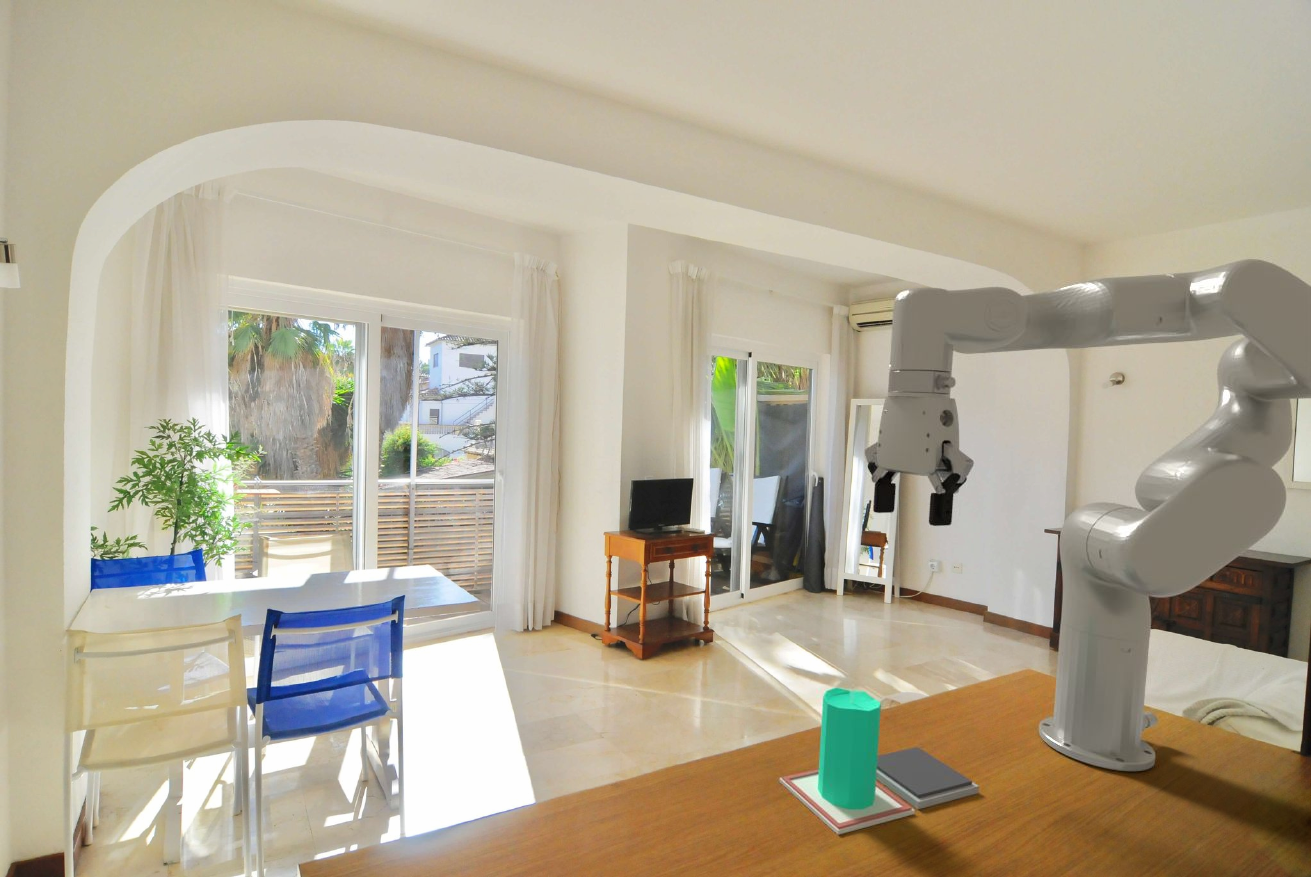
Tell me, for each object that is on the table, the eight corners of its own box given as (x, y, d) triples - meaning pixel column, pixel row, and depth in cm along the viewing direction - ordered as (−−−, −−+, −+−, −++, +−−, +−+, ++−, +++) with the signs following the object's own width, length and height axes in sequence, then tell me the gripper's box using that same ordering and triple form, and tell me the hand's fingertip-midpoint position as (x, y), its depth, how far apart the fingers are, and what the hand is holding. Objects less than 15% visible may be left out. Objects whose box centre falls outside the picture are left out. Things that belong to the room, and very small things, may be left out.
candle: (878, 814, 70) (885, 700, 69) (818, 804, 71) (825, 692, 70) (871, 783, 76) (878, 677, 75) (816, 774, 77) (823, 670, 76)
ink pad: (916, 753, 84) (917, 744, 84) (978, 793, 75) (979, 782, 75) (859, 766, 80) (860, 756, 80) (917, 809, 72) (918, 798, 72)
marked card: (849, 765, 80) (850, 761, 80) (914, 813, 71) (914, 808, 71) (779, 781, 76) (779, 776, 76) (837, 834, 67) (838, 828, 67)
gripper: (997, 388, 81) (987, 529, 82) (892, 388, 97) (884, 507, 98) (952, 384, 78) (942, 531, 79) (850, 385, 94) (843, 508, 94)
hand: (910, 518), depth 88 cm, fingers open, 9 cm apart
